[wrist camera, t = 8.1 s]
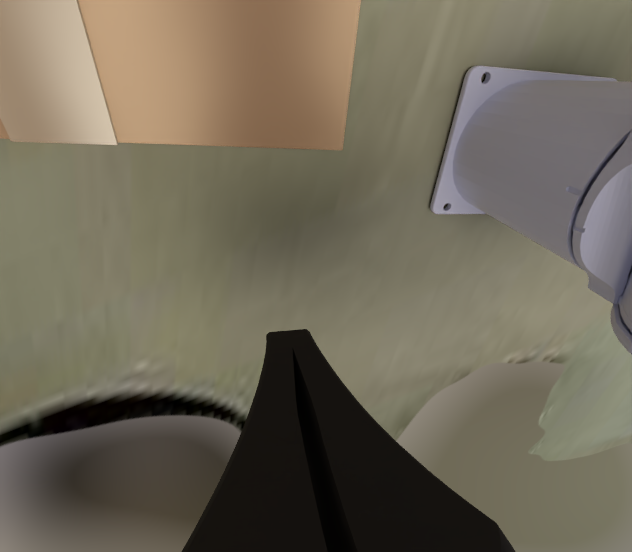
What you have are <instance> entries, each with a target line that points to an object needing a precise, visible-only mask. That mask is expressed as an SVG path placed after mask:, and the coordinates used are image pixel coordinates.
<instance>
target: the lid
mask: <svg viewBox="0 0 632 552" xmlns="http://www.w3.org/2000/svg"><path fill="white" fill-rule="evenodd" d="M360 3H361V0H0V138H5V139H10V140H11V141H14V142H44V143H74V144H104V145H118V142H121V143H150V144H179V145H207V146H236V147H265V148H294V149H323V150H343V142H344V134H345V126H346V117H347V109H348V101H349V93H350V85H351V77H352V68H353V60H354V52H355V44H356V36H357V28H358V19H359V11H360Z"/></svg>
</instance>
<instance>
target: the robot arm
mask: <svg viewBox="0 0 632 552" xmlns="http://www.w3.org/2000/svg"><path fill="white" fill-rule="evenodd" d="M484 73H485V74H486V79H485V81H484V82H483V83H482V82H481V77H482V75H483V74H484ZM446 203H448V205H447V207H446V208H444V209H443V207H444V205H445V204H446ZM430 209H431V211H432V212H434V213H435V214H488V215H490V216H491V217H493V218H495V219H497V220H498V221H500V222H502V223H503V224H505V225H507V226H509V227H510V228H512V229H514V230H516V231H517V232H519V233H521V234H522V235H524V236H526V237H528V238H529V239H531V240H533V241H534V242H536V243H538V244H540V245H541V246H543V247H545V248H546V249H548V250H550V251H552V252H553V253H555V254H557V255H559V256H560V257H562V258H564V259H565V260H567V261H569V262H571V263H572V264H574V265H576V266H577V267H579V268H581V269H583V270H585V272H586V273H587V274H588V277H589V284H588V288H589V289H590V290H592V291H594V292H595V293H597V294H598V295H600V296H602V297H603V298H605V299H606V300H608V301H610V302H611V303H613V307H612V310H611V324H612V327H613V331H614V333H615V334H616V336H617V338H618V340H619V341H620V342H621V343H622V345H623V346H624V347H625V348H626V349H627V351H628V352H630V353H631V354H632V81H617V80H616V79H614V78H605V77H595V76H584V75H574V74H563V73H553V72H542V71H532V70H521V69H511V68H500V67H490V66H473V67H471V68H470V69H469V70H468V71H467V73H466V75H465V78H464V82H463V86H462V89H461V93H460V97H459V101H458V104H457V108H456V112H455V115H454V119H453V123H452V127H451V130H450V134H449V138H448V142H447V145H446V149H445V153H444V156H443V160H442V164H441V168H440V171H439V175H438V179H437V182H436V186H435V190H434V194H433V197H432V201H431V205H430ZM266 340H267V343H266V353H265V358H264V363H263V368H262V372H261V376H260V380H259V383H258V387H257V390H256V393H255V396H254V399H253V402H252V405H251V408H250V411H249V414H248V417H247V419H246V422H245V425H244V427H243V430H242V432H241V435H240V437H239V440H238V442H237V444H236V447H235V449H234V451H233V454H232V455H231V458H230V460H229V462H228V465H227V466H226V469H225V471H224V473H223V475H222V477H221V479H220V482H219V483H218V485H217V487H216V489H215V491H214V493H213V495H212V497H211V499H210V501H209V503H208V505H207V506H206V509H205V510H204V512H203V514H202V516H201V518H200V520H199V522H198V524H197V525H196V527H195V529H194V531H193V533H192V534H191V536H190V538H189V540H188V542H187V543H186V545H185V547H184V548H183V550H182V552H515V550H514V549H513V547H512V545H511V544H510V543H509V541H508V540H507V538H506V537H505V535H504V534H503V532H502V531H501V529H500V528H499V526H498V525H497V523H495V522H494V521H493V520H491V519H490V518H489V517H487V516H486V515H485V514H483V513H482V512H481V511H479V510H478V509H477V508H475V507H474V506H473V505H471V504H470V503H469V502H467V501H466V500H464V499H463V498H462V497H461V496H459V495H458V494H457V493H455V492H454V491H453V490H452V489H450V488H449V487H448V486H447V485H445V484H444V483H443V482H442V481H440V480H439V479H438V478H437V477H436V476H434V475H433V474H432V473H431V472H430V471H428V470H427V469H426V468H425V467H424V466H423V465H421V464H420V463H419V462H418V461H417V460H416V459H415V458H414V457H412V456H411V455H410V454H409V453H408V452H407V451H406V450H405V449H404V448H402V447H401V446H400V445H399V444H398V443H397V442H396V441H395V440H394V439H393V438H392V437H391V436H390V435H389V434H388V433H387V432H386V431H385V430H384V429H383V428H382V427H381V426H380V425H379V424H378V423H377V422H376V421H375V420H374V419H373V418H372V417H371V416H370V415H369V413H368V412H367V411H366V410H365V409H364V408H363V407H362V406H361V404H360V403H359V402H358V401H357V400H356V398H355V397H354V396H353V395H352V394H351V392H350V391H349V390H348V389H347V387H346V386H345V385H344V384H343V382H342V381H341V380H340V378H339V377H338V376H337V374H336V373H335V372H334V370H333V369H332V367H331V366H330V365H329V363H328V362H327V360H326V359H325V357H324V356H323V354H322V353H321V351H320V350H319V348H318V346H317V345H316V343H315V341H314V339H313V338H312V336H311V334H310V332H309V331H308V330H307V329H302V330H290V331H278V332H269V333H268V334H267V335H266Z"/></svg>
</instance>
